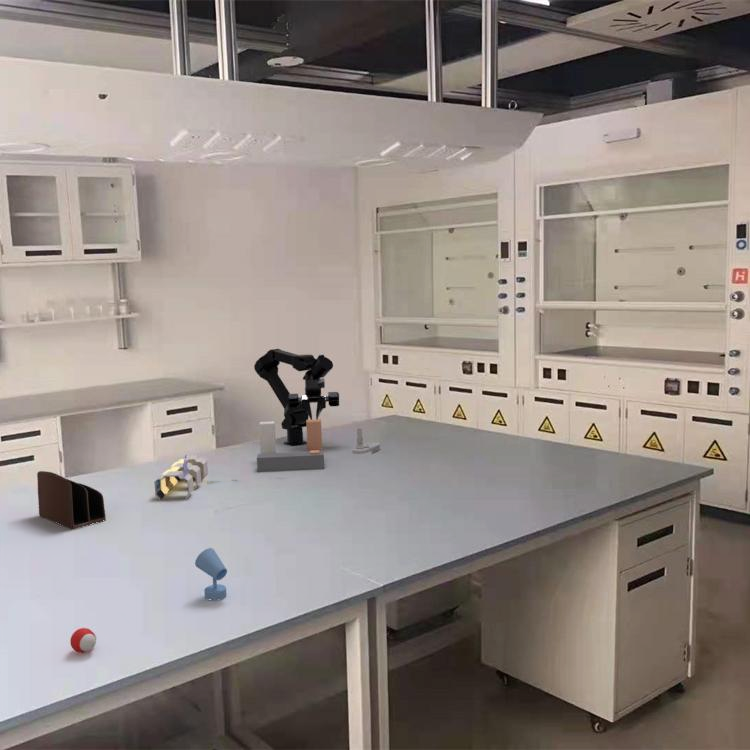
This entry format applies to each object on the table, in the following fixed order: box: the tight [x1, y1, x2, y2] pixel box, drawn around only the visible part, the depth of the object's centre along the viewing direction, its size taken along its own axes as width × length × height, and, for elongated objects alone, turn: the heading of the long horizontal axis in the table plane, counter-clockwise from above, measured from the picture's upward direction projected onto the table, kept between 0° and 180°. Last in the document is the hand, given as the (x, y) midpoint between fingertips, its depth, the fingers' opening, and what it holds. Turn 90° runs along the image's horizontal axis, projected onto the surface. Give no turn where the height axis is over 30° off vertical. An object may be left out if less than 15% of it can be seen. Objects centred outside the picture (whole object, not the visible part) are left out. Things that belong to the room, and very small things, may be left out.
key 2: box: [306, 419, 323, 451], centre depth 275 cm, size 4×5×14 cm
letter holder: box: [36, 470, 107, 530], centre depth 223 cm, size 10×20×14 cm, turn 47°
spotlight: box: [194, 547, 228, 601], centre depth 167 cm, size 5×10×7 cm
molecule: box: [69, 627, 97, 653], centre depth 145 cm, size 5×5×4 cm
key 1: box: [258, 420, 277, 454], centre depth 273 cm, size 4×5×14 cm
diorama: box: [153, 454, 209, 501], centre depth 250 cm, size 25×10×13 cm, turn 179°
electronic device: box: [352, 428, 381, 455], centre depth 290 cm, size 5×10×15 cm
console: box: [256, 450, 325, 473], centre depth 271 cm, size 16×22×7 cm
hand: (314, 419), depth 285 cm, fingers closed
